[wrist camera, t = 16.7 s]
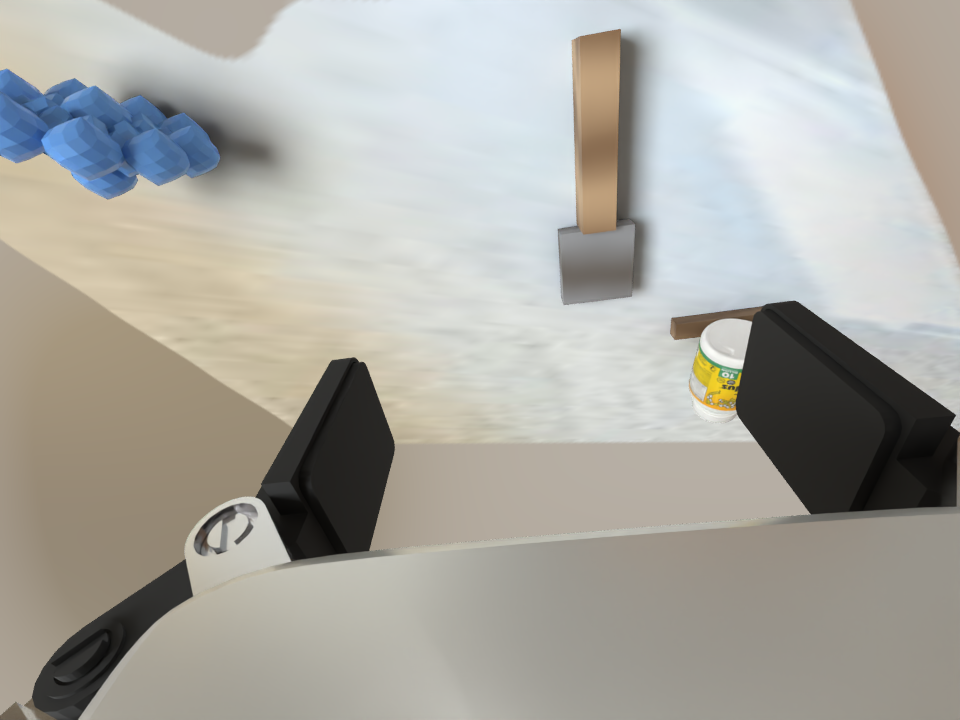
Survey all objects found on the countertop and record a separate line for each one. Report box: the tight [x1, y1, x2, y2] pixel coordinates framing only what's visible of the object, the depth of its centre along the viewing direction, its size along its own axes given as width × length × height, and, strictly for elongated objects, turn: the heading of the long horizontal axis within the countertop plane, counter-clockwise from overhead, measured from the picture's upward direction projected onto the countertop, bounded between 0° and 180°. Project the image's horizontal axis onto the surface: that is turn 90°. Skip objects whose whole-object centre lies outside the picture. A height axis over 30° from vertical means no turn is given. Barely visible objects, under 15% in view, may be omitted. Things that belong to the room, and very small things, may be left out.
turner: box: [558, 29, 635, 305], centre depth 32 cm, size 18×6×3 cm, turn 9°
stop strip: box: [670, 307, 762, 340], centre depth 38 cm, size 2×10×1 cm, turn 99°
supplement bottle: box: [689, 318, 752, 423], centre depth 38 cm, size 5×5×10 cm
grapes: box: [0, 69, 220, 199], centre depth 26 cm, size 12×7×12 cm, turn 70°
